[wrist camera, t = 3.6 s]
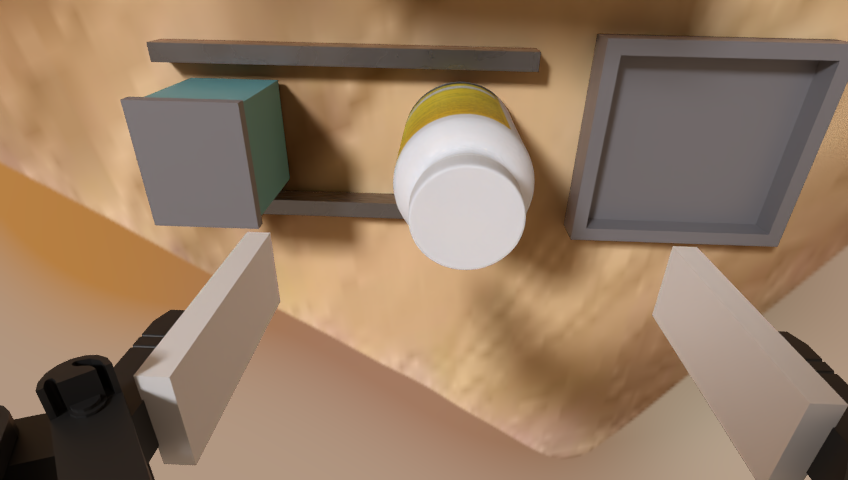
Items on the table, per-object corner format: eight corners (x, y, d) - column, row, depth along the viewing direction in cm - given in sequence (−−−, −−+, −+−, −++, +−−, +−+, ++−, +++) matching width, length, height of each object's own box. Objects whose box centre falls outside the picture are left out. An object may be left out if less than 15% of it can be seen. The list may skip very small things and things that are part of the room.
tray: (597, 33, 26) (608, 38, 24) (835, 39, 26) (863, 44, 24) (563, 224, 32) (570, 239, 30) (758, 231, 31) (777, 246, 30)
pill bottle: (389, 101, 28) (357, 171, 18) (496, 62, 27) (526, 115, 17) (426, 197, 31) (417, 305, 21) (524, 166, 30) (565, 265, 20)
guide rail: (161, 38, 27) (146, 42, 26) (536, 48, 27) (540, 52, 25) (197, 201, 32) (186, 211, 31) (516, 212, 31) (519, 222, 30)
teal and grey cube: (187, 74, 28) (120, 99, 22) (280, 76, 28) (238, 102, 22) (209, 178, 31) (155, 225, 25) (293, 181, 31) (258, 228, 25)
